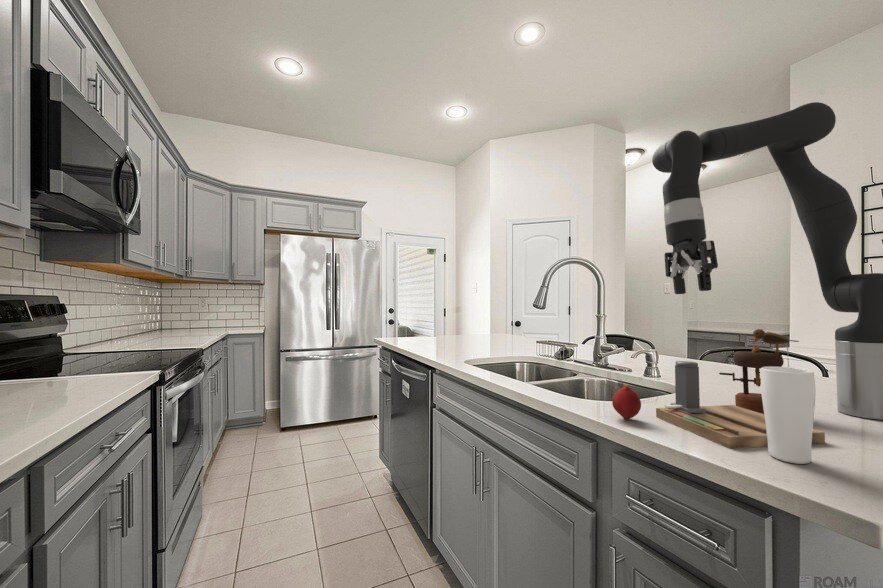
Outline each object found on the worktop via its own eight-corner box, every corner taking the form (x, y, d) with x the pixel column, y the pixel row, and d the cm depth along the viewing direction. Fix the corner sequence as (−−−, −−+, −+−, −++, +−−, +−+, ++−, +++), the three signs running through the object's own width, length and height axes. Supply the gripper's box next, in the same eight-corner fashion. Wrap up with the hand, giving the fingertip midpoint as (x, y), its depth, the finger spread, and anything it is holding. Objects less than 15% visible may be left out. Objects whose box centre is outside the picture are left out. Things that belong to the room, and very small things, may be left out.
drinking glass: (760, 458, 62) (758, 369, 63) (764, 447, 67) (762, 364, 67) (817, 471, 57) (814, 374, 58) (817, 458, 62) (814, 369, 63)
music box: (794, 411, 90) (791, 329, 90) (810, 423, 80) (807, 332, 81) (716, 403, 97) (714, 327, 98) (723, 413, 88) (720, 329, 89)
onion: (628, 414, 87) (627, 380, 87) (647, 422, 81) (646, 386, 82) (607, 416, 86) (606, 382, 86) (625, 424, 80) (624, 387, 80)
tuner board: (733, 413, 88) (732, 402, 88) (825, 443, 69) (824, 429, 69) (656, 416, 85) (655, 405, 86) (729, 448, 67) (729, 433, 67)
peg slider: (687, 406, 86) (686, 360, 86) (705, 412, 81) (704, 364, 81) (658, 407, 85) (657, 361, 85) (674, 413, 80) (673, 364, 80)
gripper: (723, 211, 77) (733, 288, 76) (681, 229, 91) (688, 294, 90) (687, 213, 77) (696, 290, 76) (650, 230, 91) (657, 295, 90)
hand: (692, 292), depth 83 cm, fingers open, 8 cm apart
